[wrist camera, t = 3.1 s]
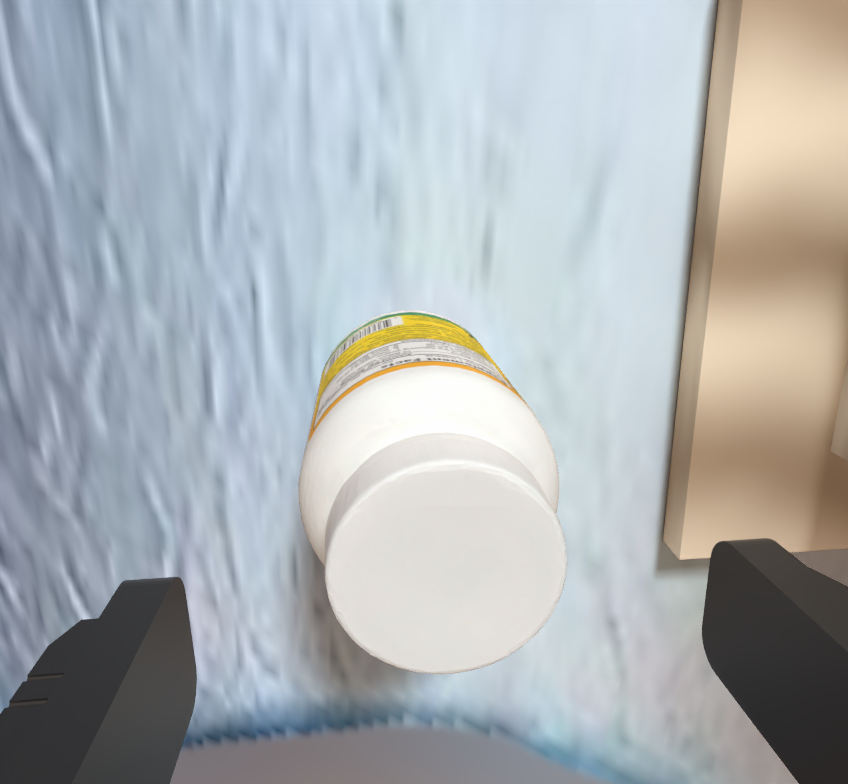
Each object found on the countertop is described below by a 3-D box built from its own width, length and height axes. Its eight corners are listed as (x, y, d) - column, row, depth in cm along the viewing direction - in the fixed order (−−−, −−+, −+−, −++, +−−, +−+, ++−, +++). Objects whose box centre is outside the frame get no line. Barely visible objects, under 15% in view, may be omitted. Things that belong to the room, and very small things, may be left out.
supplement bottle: (342, 287, 18) (321, 378, 9) (518, 332, 19) (658, 455, 10) (302, 458, 20) (250, 683, 11) (468, 492, 21) (552, 728, 12)
